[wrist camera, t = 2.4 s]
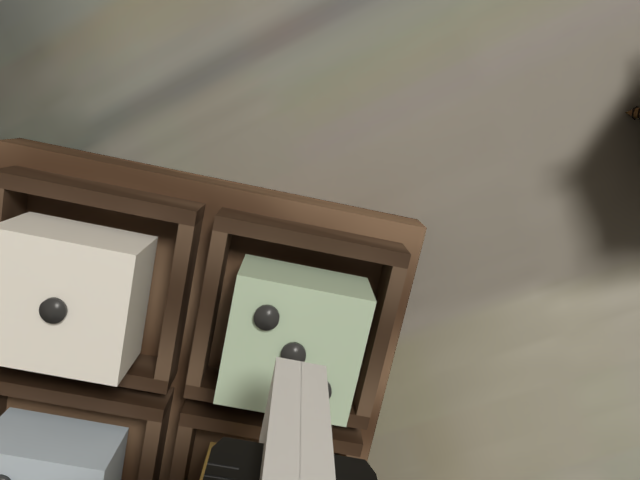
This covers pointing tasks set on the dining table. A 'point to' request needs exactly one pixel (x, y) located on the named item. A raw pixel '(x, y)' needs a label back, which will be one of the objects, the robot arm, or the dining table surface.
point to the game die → (634, 113)
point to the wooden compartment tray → (202, 295)
